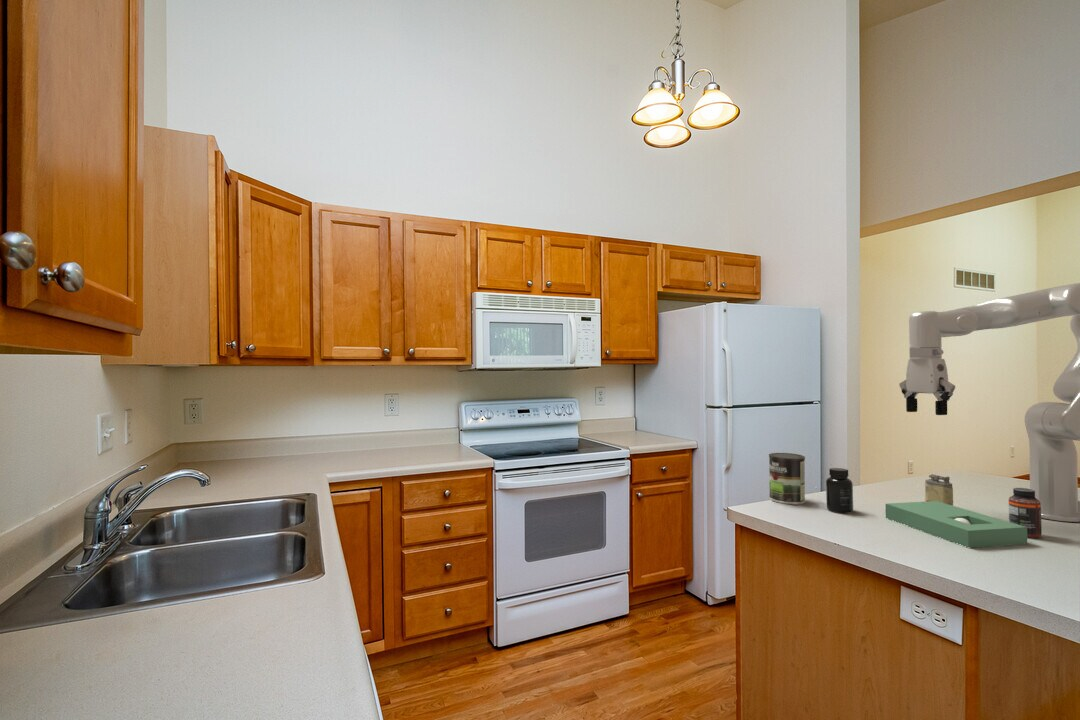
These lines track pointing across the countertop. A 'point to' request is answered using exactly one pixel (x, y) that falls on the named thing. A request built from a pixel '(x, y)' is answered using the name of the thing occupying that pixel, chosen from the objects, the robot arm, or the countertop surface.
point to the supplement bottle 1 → (839, 491)
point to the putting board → (957, 524)
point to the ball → (962, 520)
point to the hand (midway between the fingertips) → (926, 413)
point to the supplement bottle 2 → (1026, 511)
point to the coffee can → (787, 478)
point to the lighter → (939, 489)
